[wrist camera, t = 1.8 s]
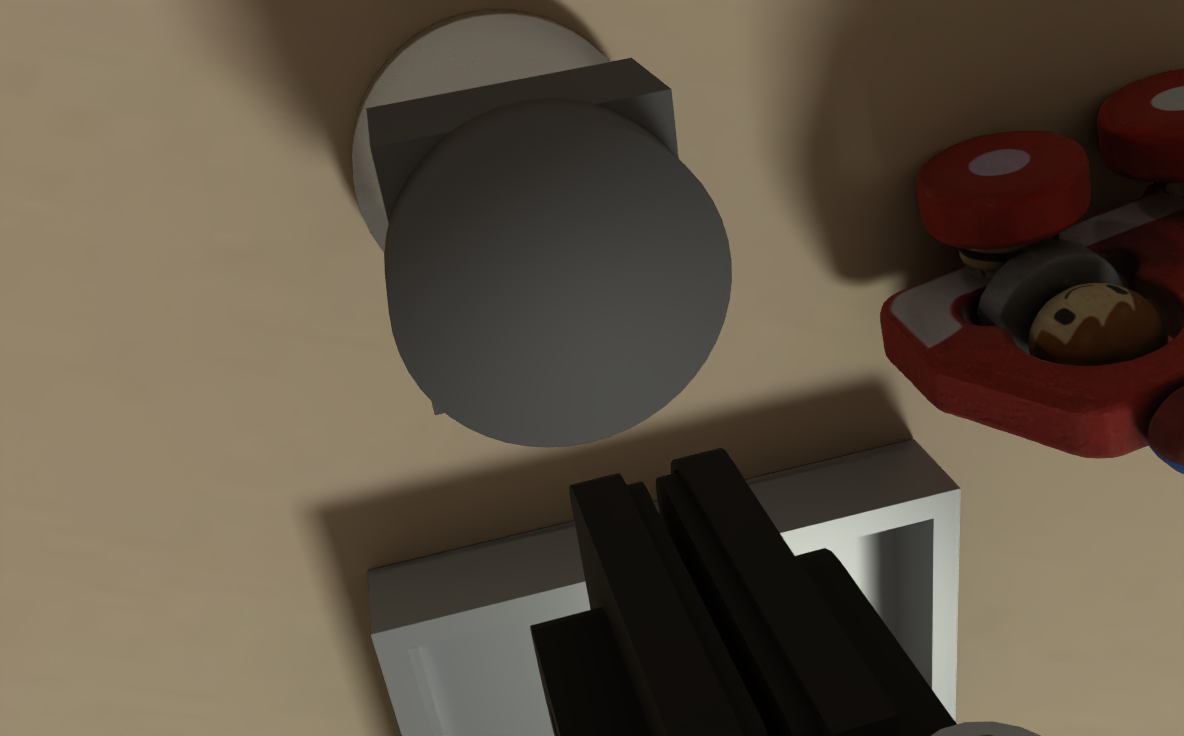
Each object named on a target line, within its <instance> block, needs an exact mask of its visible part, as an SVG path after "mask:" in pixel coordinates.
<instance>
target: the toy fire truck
mask: <svg viewBox="0 0 1184 736" xmlns="http://www.w3.org/2000/svg"><path fill="white" fill-rule="evenodd" d="M1097 127H1098V135H1099V149H1100V154H1101V157H1102V160H1103V163H1104V164H1105V166H1106V167H1107V168H1108V169H1109V170H1111V171H1112V172H1114V173H1116V174H1118V175H1120V176H1123V177H1126V178H1130V179H1134V180H1140V181H1147V182H1154V183H1152V184H1151V185H1150V186H1149V187H1148V188H1147V189H1146V190H1145V192H1144V194H1143V196H1142V197H1140V198H1139V199H1136V200H1134V201H1131V202H1129V203H1127V204H1124V205H1122V206H1119V207H1117V208H1114V209H1112V210H1108V211H1105V212H1103V213H1100V214H1098V215H1095V216H1093V217H1090V218H1087V219H1084V220H1082V221H1079V220H1080V219H1081V218H1082V217H1083V216H1084V214H1085V213H1086V211H1087V209H1088V207H1089V204H1090V200H1091V186H1090V175H1089V160H1088V158H1087V155H1086V153H1085V150H1084V149H1083V148H1082V147H1081V146H1080V144H1079V143H1077V142H1075V141H1073V140H1072V139H1070V138H1068V137H1065V136H1062V135H1058V134H1054V133H1051V132H1044V131H1014V132H1006V133H998V134H992V135H985V136H980V137H977V138H974V139H970V140H967V141H965V142H962V143H960V144H957V145H954V146H952V147H950V148H948V149H946V150H944V151H942V152H941V153H939V154H937V155H936V156H934V157H933V158H932V159H930V160H929V161H928V162H927V163H925V164H924V165H923V167H922V168H921V169H920V172H919V175H918V179H917V184H916V190H917V196H918V202H919V208H920V214H921V219H922V222H923V225H924V228H925V229H926V230H927V232H928V233H929V234H930V235H931V236H933V237H934V238H935V239H937V240H938V241H940V242H942V243H944V244H947V245H949V246H953V247H956V248H957V249H958V250H959V254H960V257H961V259H962V260H963V262H964V263H965V264H966V265H965V266H963V267H962V268H959V269H956V270H954V271H951V272H948V273H946V274H943V275H940V276H938V277H936V278H934V279H931V280H928V281H926V282H923V283H920V284H918V285H915V286H913V287H910V288H907V289H905V290H902V291H900V292H898V293H896V294H894V295H892V296H891V297H890V298H888V299H887V300H886V301H885V302H884V304H883V306H882V309H881V312H880V322H881V329H882V335H883V342H884V349H885V353H886V356H887V357H888V359H889V360H890V361H891V363H892V364H894V365H895V366H896V367H897V368H898V369H899V371H901V372H902V373H903V374H904V375H905V377H906V378H908V379H909V380H910V381H911V382H912V383H913V385H914V386H915V387H916V388H917V389H918V390H919V391H920V392H921V393H922V394H923V395H924V396H925V397H926V398H927V400H928V401H930V402H931V403H932V404H933V405H934V406H935V407H936V408H938V409H939V410H941V411H943V412H945V413H949V414H952V415H955V416H958V417H961V418H966V419H969V420H972V421H975V422H977V423H980V424H983V425H986V426H989V427H992V428H995V429H998V430H1001V431H1005V432H1008V433H1011V434H1014V435H1017V436H1020V437H1023V438H1026V439H1028V440H1031V441H1035V442H1038V443H1040V444H1043V445H1045V446H1049V447H1052V448H1055V449H1058V450H1061V451H1064V452H1067V453H1069V454H1072V455H1077V456H1081V457H1086V458H1113V457H1118V456H1123V455H1125V454H1128V453H1130V452H1133V451H1135V450H1138V449H1140V448H1143V447H1146V446H1148V445H1149V446H1150V448H1151V449H1152V450H1153V451H1154V453H1155V454H1156V455H1157V456H1158V457H1159V458H1160V459H1161V460H1163V461H1164V462H1165V463H1167V464H1168V465H1169V466H1171V467H1172V468H1173V469H1175V470H1176V471H1178V472H1180V473H1182V474H1184V69H1180V70H1174V71H1169V72H1165V73H1161V74H1157V75H1154V76H1151V77H1148V78H1144V79H1141V80H1139V81H1137V82H1134V83H1132V84H1130V85H1128V86H1126V87H1124V88H1122V89H1120V90H1118V91H1117V92H1115V93H1113V94H1112V95H1111V96H1110V97H1109V98H1107V99H1106V100H1105V102H1104V103H1103V104H1102V105H1101V107H1100V110H1099V113H1098V117H1097ZM1078 221H1079V222H1078Z"/></svg>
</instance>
